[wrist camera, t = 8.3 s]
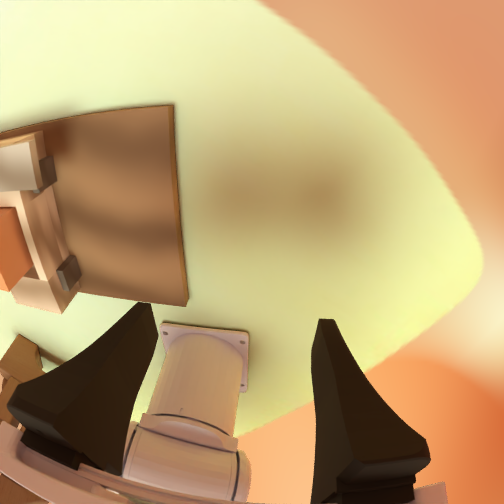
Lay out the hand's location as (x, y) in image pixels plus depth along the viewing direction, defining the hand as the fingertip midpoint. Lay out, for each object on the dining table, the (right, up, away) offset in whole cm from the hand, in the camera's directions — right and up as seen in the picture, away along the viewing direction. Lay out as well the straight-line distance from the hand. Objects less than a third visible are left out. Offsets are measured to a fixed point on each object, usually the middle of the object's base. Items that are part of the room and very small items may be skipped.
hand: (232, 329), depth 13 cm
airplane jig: (-14, +6, +9) cm, 18 cm away
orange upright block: (-17, +6, +7) cm, 19 cm away
